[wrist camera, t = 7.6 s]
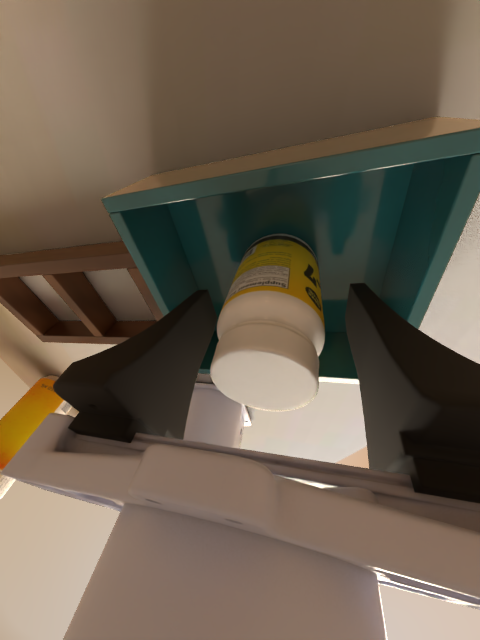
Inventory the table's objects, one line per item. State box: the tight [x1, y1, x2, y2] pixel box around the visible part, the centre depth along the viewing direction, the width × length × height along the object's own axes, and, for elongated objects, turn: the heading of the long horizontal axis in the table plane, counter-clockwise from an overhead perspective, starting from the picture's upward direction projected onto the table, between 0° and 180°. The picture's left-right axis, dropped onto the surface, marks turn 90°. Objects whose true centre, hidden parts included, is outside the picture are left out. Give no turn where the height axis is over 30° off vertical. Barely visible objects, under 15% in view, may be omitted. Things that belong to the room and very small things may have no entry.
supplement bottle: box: [210, 234, 325, 411], centre depth 11 cm, size 5×5×8 cm
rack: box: [0, 241, 164, 344], centre depth 19 cm, size 8×16×2 cm, turn 101°
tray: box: [101, 116, 480, 384], centre depth 13 cm, size 12×13×4 cm
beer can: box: [0, 375, 72, 498], centre depth 31 cm, size 6×6×15 cm
